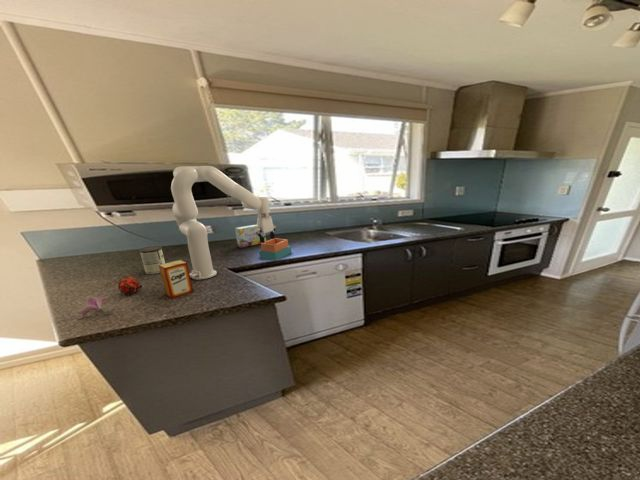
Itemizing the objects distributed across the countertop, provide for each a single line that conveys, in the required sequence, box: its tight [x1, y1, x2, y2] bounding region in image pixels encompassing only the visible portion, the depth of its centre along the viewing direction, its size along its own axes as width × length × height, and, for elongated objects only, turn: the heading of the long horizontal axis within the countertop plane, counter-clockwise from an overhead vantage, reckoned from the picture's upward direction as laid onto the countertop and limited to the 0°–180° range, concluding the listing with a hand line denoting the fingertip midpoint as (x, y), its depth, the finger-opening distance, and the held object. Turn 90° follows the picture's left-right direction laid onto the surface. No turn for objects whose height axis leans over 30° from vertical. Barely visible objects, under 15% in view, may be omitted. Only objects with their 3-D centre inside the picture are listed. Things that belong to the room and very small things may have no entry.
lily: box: [78, 292, 110, 320], centre depth 121 cm, size 12×12×10 cm
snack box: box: [234, 223, 267, 249], centre depth 222 cm, size 21×6×15 cm, turn 143°
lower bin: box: [258, 245, 292, 261], centre depth 198 cm, size 16×13×6 cm
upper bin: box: [260, 237, 289, 252], centre depth 197 cm, size 14×11×10 cm
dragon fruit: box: [117, 276, 143, 296], centre depth 142 cm, size 8×8×12 cm
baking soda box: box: [159, 259, 194, 299], centre depth 140 cm, size 10×6×16 cm
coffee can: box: [138, 245, 166, 275], centre depth 168 cm, size 10×10×14 cm
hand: (267, 240), depth 189 cm, fingers open, 9 cm apart
